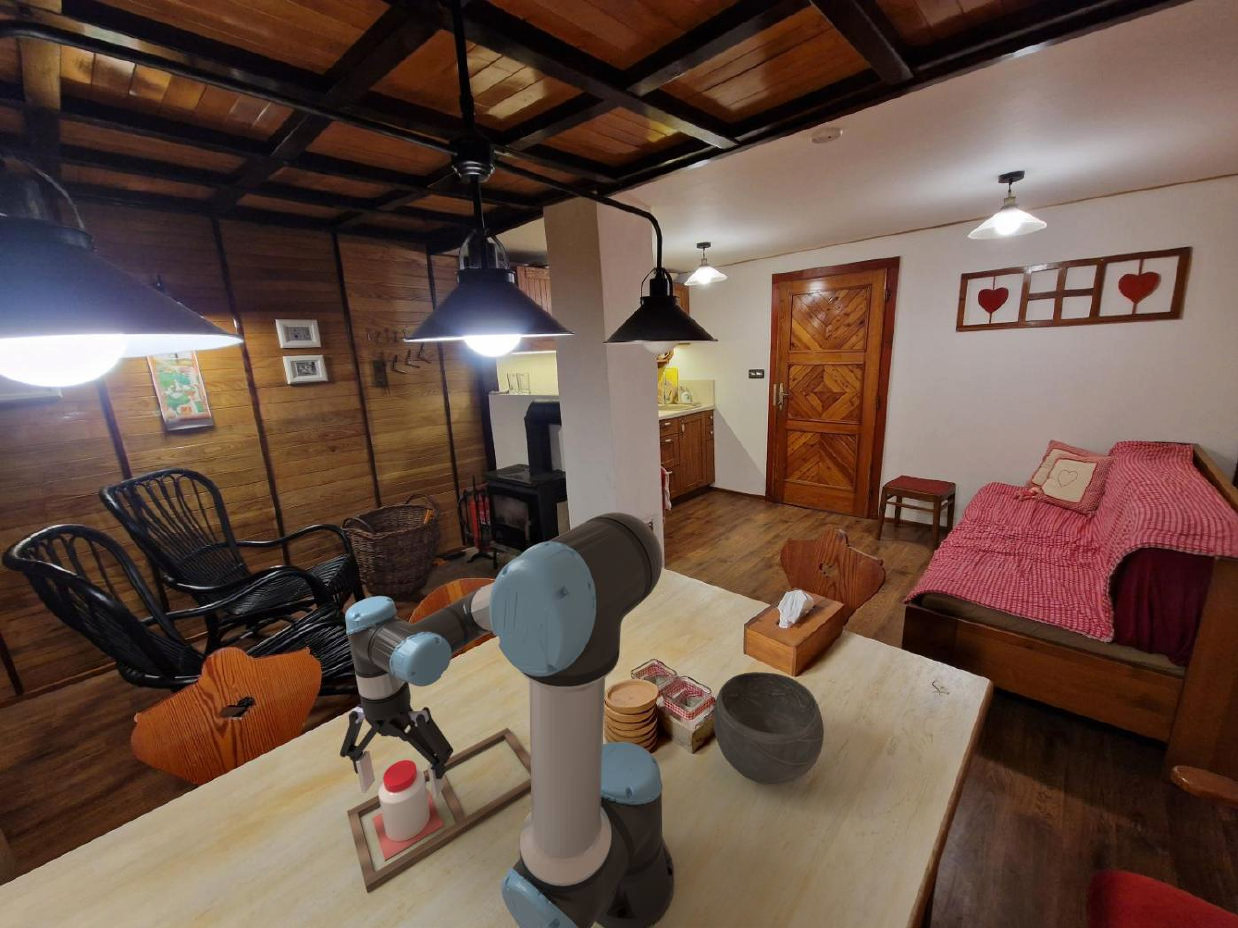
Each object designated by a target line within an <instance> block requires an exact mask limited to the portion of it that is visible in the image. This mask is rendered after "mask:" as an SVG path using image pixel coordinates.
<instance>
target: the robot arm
mask: <svg viewBox="0 0 1238 928" xmlns="http://www.w3.org/2000/svg"><path fill="white" fill-rule="evenodd" d="M662 569H663V553H662V549H661V544H660V542H659V539H658V537H657V535H656V534H655V533H654V531H653V529H651V527H650V526H649V525H648V524H647V523H645V522H644V521H643V520H642V519H640V518H638V517H636V516H634V515H632V514H628V513H623V512H607V513H604V514H603V513H602V514H600V515H597V516H595V517H592V518H591V519H590V518H589V519H588V520H586V521H585V522H582V523H580V524H579V525H577V526H575V527H573V528H571V529H569V530H567V531H566V532H563V533H562V534H560V535H558V536H556V537H553V538H552V539H549V540H548V541H542V542H539V543H537V544H534V545H532V546H531V547H529V548H527V549H526V550H525V551H523V552H522V553H521V554H520V555H518V556H517V557H515V558H513V559H512V560H510V561H509V562H508V563H507V564H506V565H505V566H504V567H502V568H501V570H500V571H499V573H498V575H497V577H496V578H495V580H494V581H493V582H491V583H489V584H486V585H484V586H482V587H481V586H480V587H479V588H476V589H475V590H473V591H472V592H469V594H467V595H465V596H463V597H461V598H459V599H457V600H456V601H454V602H452V603H450V604H448V605H446V606H444V607H442V608H440V609H439V610H436V611H434V612H433V613H431V614H428V615H427V616H426V617H423V618H421V619H420V620H418V621H416V622H413V623H411V622H408V621H406V620H403V619H401V618H399V617H398V610H397V608H396V605H395V602H394V600H393V599H392V598H391V597H389V596H383V595H377V596H372V597H367V598H364V599H362V600H359V601H358V602H355V603H354V604H352V605H351V606H350V607H349V608H348V609H347V610H346V612H345V616H344V618H345V625H346V627H345V628H346V631H345V632H346V635H347V639H348V644H349V648H350V652H351V653H350V654H351V656H352V657H351V658H352V660H353V661H352V662H353V667H354V671H355V672H354V673H355V678H356V679H355V680H356V684H357V689H358V694H359V696H360V703H359V704H357V706H355V708H354V709H353V710H352V711H350V713H349V714H348V722H349V723H348V724H349V725H348V727H347V731H346V734H345V736H344V739H343V743H342V746H341V749H340V752H339V756H340V757H341V758H346V757H348V758H349V760H350V761H352V765H353V769H354V772H355V773H356V775H358V779H359V784H360V789H361V793H362V794H363V793H364V794H366V793H367V792H368V791H369V790H370V788H371V787H372V785H373V784H374V783H375V782H376V778H375V773H374V769H373V768H374V767H373V763H372V757H371V754H370V752H371V751H370V750H368V749H367V750H366V748H367V747H368V746H369V744H370V742H371V741H372V740H373V738H374V737H375V736H376V735H377V734H379V735H380V736H381V737H393V738H399V739H400V740H402V741H403V742H407V743H409V744H410V745H411V747H413V749H415V750H416V751H417V752H418V753H419V754H420V755H421V757H424V759H425V760H427V762H429V764H428V765H427V769H428V772H429V778H430V780H429V783H430V790H431V795H432V798H433V799H437V798H438V797H439V795H440V794H441V793H442V792H441V790H442V788H443V786H444V781H443V775H445V773H446V771H447V770H446V769H445V764H446V763H447V761H448V760H449V758H450V757H452V756H453V755H452V754H453V753H454V748H453V747H452V745H451V743H450V742H449V740H447V738H446V736H445V735H444V733H443V731H441V729H440V728H439V727H438V725H437V723H436V722H435V720H434V719H433V718H432V713H431V711H430V708H429V707H427V706H424V707H423V708H422V709H421V710H415V711H414V709H413V708H412V706H411V697H412V695H411V690H410V685H413V686H415V687H422V688H423V687H427V686H430V685H433V684H434V683H436V682H437V681H438V680H440V679H441V678H442V676H443V673H444V672H445V671H447V670H448V668H449V666H450V663H451V660H452V656H453V655H455V654H456V653H458V652H459V651H460V650H462V649H463V648H465V647H467V646H468V645H469V644H471V643H473V642H475V641H477V640H478V639H480V638H481V637H483V636H484V637H485V635H489V634H491V633H493V636H495V637H498V638H499V642H498V644H497V646H498V647H499V649H500V651H501V652H502V655H503V656H504V657H505V658H506V660H507V661H508V662H509V663H510V664H511V665H512V666H513V667H515V668H516V669H517V670H518V671H519V673H521V674H522V676H523V677H524V678H526V679H527V680H528V681H529V682H528V684H529V686H528V687H529V689H528V690H529V692H528V693H529V740H530V741H529V742H530V743H529V745H530V746H529V747H530V752H529V753H530V758H531V775H530V778H531V791H530V794H531V795H530V796H531V798H530V799H531V801H530V802H531V803H530V804H531V806H530V807H531V810H530V811H529V813H528V814H527V816H526V818H525V820H524V822H523V824H522V826H521V831H520V835H519V859H518V860H517V862H515V864H514V865H513V866H512V867H509V869H507V873H506V874H505V876H504V878H503V880H502V882H501V886H500V889H501V890H500V892H501V895H502V899H503V902H504V904H505V906H506V908H507V910H508V911H509V913H510V915H511V917H512V918H513V920H514V921H515V923H516V924H517V926H518V927H519V928H593V925H594V924H595V922H596V923H597V924H599V925H600V926H601V927H603V928H647V927H649V928H651V927H652V925H653V926H654V925H655V924H656V923H658V921H660V920H661V919H662V917H663V916H664V915H665V913H666V912H667V910H668V909H669V907H670V904H672V903H671V902H672V900H673V896H674V892H675V869H674V863H673V858H672V856H671V853H670V850H669V847H668V846H667V844H666V842H665V840H664V838H663V811H662V810H663V805H662V803H663V802H662V800H663V799H662V795H663V794H662V793H663V782H662V778H661V769H660V766H659V764H658V762H657V760H656V758H655V757H654V755H653V754H652V753H650V751H648V750H647V748H644V747H643V746H640V745H638V744H636V743H632V742H629V741H616V742H615V741H611V742H606V743H604V726H605V725H604V723H605V692H606V690H605V689H606V687H605V686H606V677H607V676H609V675H610V674H611V673H612V672H613V671H614V670H615V668H616V666H617V665H618V661H619V659H620V653H621V651H620V648H621V627H622V622H623V620H624V618H625V617H627V615H628V614H630V613H631V612H632V611H633V610H634V609H636V607H637V606H638V605H640V604H641V603H642V602H643V601H644V600H646V599H647V598H648V597H649V596H650V595H651V594H652V592H653V591H654V589H655V588H656V586H657V584H658V582H659V580H660V577H661V574H662ZM364 720H365V721H366V723H368V725H370V727H371V728H370V729H369V730H368V731H367V732H366V734H365V735H364V737H363V738H362V740H361V741H360V742H359V743H358V745H356V743H357V740H358V738H359V734H360V731H361V728H362V725H363V724H364V723H363V722H364ZM408 727H409V729H408ZM406 729H408V731H407V732H406ZM650 926H651V927H650Z"/></svg>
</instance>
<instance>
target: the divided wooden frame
mask: <svg viewBox="0 0 1238 928" xmlns="http://www.w3.org/2000/svg"><path fill="white" fill-rule="evenodd" d="M504 740H505V742H506V743H507V744H508V746H509V747H510V749H511V750H512V751H513V753H514V754H515V756H516V757H517V758H518V760H519V762H520V763H521V765H523V767H524V768H525V770H526V771H527V772H528V774H529V776H531V756H529V754H528V753H527V751H526V750H525V749H524V748H523V746H522V744H521V743H520V742H519V741H518V739H517V738H516V737H515V736H514V734H513V733H512V732H511V730H510V728H509V727H506V728H504V729H502V730H500V731H498V732H496V733H494V734H493V735H491V736H488V737H486V738H485V739H483V740H481V741H478V742H477V743H475V744H473V745H471V746H470V747H467V748H466V749H463V750H462V751H460V752H458V753H456V754H454V755H451V756H450V758H449V760H448V761H447V763H446V764H445V769H446V771H449V770H450V769H452V768H455V766H457V765H460V764H461V763H463V762H465V761H467V760H469V759H470V758H473V757H474V756H476V755H478V754H479V753H482V752H484V751H485V750H487V749H489V748H491V747H493V746H495V745H496V744H499V743H500V742H502V741H504ZM422 771H423V770H422ZM423 773H424V776H425V783H427V782H428V781H430V778H429V772H428V768H427V769H425V770H424V771H423ZM443 781H444V786H443V788H442V790H441V792H440V793H441V794H442V796H443V798H444V800H445V803H446V804H447V806H448V810H449V811H450V813H451V815H452V817H453V819H454V821H455V823H454V824H452V825H451V826H449V827H447V828H446V829H444V830H443V831H440V832H439V833H437V834H436V835H434V836H433V837H431V838H429V839H428V840H426V841H425V842H423V843H421V844H419V845H418V846H416V847H415V848H413V849H411V850H409V851H407V852H406V853H405V854H403V855H401V856H400V857H398V858H396V859H394V860H393V861H391V862H390V863H388V864H386V865H385V866H383V867H381V868H379V869H378V870H376V871H374V867H373V864H372V861H371V857H370V853H369V849H368V846H367V842H366V839H365V835H364V832H363V828H362V824H361V820H360V817H363V816H364V815H366V814H368V813H369V812H372V811H374V810H376V809H377V808H379V807H380V801H379V795H378V794H377V795H376V796H374V797H372V798H370V799H367V800H366V801H364V802H362V803H360V804H359V805H357V806H355V807H352V808H350V809H349V810H347V817H348V820H349V825H350V829H351V834H352V838H353V841H354V845H355V849H356V850H355V851H356V852H357V853H356V854H357V857H358V862H359V866H360V868H361V874H362V877H363V881H364V886H365V890H366V892H367V893H368V892H370V891H372V890H373V889H375V888H377V887H378V886H380V885H381V884H383V883H384V882H386V881H388V880H390V879H391V878H392V877H394V876H396V875H398V874H399V873H401V872H402V871H404V870H406V869H407V868H408V867H411V866H412V865H413V864H415V863H417V862H419V861H420V860H421V859H423V858H425V857H427V856H428V855H430V854H431V853H433V852H434V851H436V850H437V849H440V848H441V847H442V846H444V845H446V844H447V843H449V842H450V841H452V840H454V839H456V838H457V837H458V836H460V835H463V834H464V833H465V832H467V831H468V830H470V829H471V828H473V827H474V826H477V825H478V824H479V823H481V822H483V821H484V820H486V819H488V818H489V817H490V816H492V815H494V814H496V813H497V812H498V811H500V810H502V809H503V808H505V807H507V806H508V805H510V804H512V803H513V802H515V801H516V800H518V799H519V798H521V797H522V796H524V795H526V794H528V793H529V792H531V777H530V778H529V779H527V780H525V781H523V782H522V783H520V784H518V785H517V786H516V787H514V788H511V790H509V791H507V792H505V793H504V794H502V795H500V796H498V797H497V798H496V799H493V800H492V801H490V802H489V803H487V804H485V805H484V806H482V807H481V808H479V809H477V810H475V811H474V812H472V813H470V814H468V815H467V816H466V815H465V812H464V811H463V809H462V807H461V805H460V803H459V801H458V799H457V797H456V796H455V794H454V791H453V789H452V787H451V786H450V783H449V782H448V780H447V777H446V776H445V774H444V775H443ZM426 789H427V796H428V802H429V809H430V818H429V821H428V823H427V825H426V826H425V828H424V829H423V830H422V831H421V832H420V833H419V834H417V835H416V836H414V837H413V838H411V839H408V840H405V841H399V842H398V841H392V840H390V839H389V838H388V837H387V836H386V833H385V829H384V823H383V818H382V812H381V813H379V814H377V815H375V816H373V817H372V818H371V819H372V822H373V825H374V828H375V833H376V835H377V839H378V842H379V845H380V849H381V852H382V855H383V858H384V861H385V862H386V861H388V860H390V859H392V858H393V857H395V856H396V855H398V854H399V853H402V852H403V851H405V850H406V849H408V848H410V847H411V846H413V845H415V844H416V843H418V842H420V841H421V840H423V839H425V838H427V837H428V836H429V835H431V834H433V833H435V832H436V831H438V830H440V829H441V828H444V823H443V821H442V818H441V817H440V814H439V811H438V810H437V807H436V805H435V803H434V801H433V799H432V798H433V797H432V796H431V794H430V791H429V790H428V788H426Z"/></svg>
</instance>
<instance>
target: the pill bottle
mask: <svg viewBox="0 0 1238 928" xmlns="http://www.w3.org/2000/svg"><path fill="white" fill-rule="evenodd" d="M382 777H383V778H382V779H383V781H382V782H381V783H380V786H379V788H378V792H377V793H378V794H377V795H379V801H380V806H379V807H380V811H381V813H382V818H383V823H384V829H385V833H386V836H387V837H388V838H389V839H390V840H392V841H398V842H399V841H405V840H408V839H411V838H413V837H414V836H416V835H417V834H419V833H420V832H421V831H422V830H423V829H424V828H425V826H426V825H427V823H428V821H429V818H430V809H429V802H428V796H427V789H428V788H427V784H426V783H427V782H425V776H424V773H423V770H422V769H421V768H419V767H417V765H416V763H415V762H414V761H413V760H411V759H410V760H409V759H404V760H399V761H397V762H395V763H393V764H392V765H390V766H389V767H388V768H387V769H386V770H385V771H384V774H383V776H382Z"/></svg>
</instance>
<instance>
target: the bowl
mask: <svg viewBox="0 0 1238 928" xmlns="http://www.w3.org/2000/svg"><path fill="white" fill-rule="evenodd" d="M820 710H821V709H820V708H819V704H818V702H817V700H816V699H815V697H814V694H813V693H812V692H811V691H810V690H809V689H808V688H807V687H805V686H804V685H803V683H800V682H799V681H797V680H796V679H794V678H791V677H790V676H787V675H783V674H778V673H773V672H758V671H753V672H744V673H740V674H737V675H734V676H732V677H731V678H729V679H728V680H727V681H725V683H724V684H723V685H722V686H721V687H720V690H719V692H718V694H717V695H716V698H715V701H714V707H713V719H712V720H713V721H712V722H713V730H714V735H715V738H716V742H717V744H718V747H719V749H720V751H721V753H722V755H723V757H724V758H725V760H726V761H727V762H728V763H729V765H731V766H732V767H733V769H734V770H736V771H737V772H738V773H739V774H741V775H742V776H743V777H744V778H747V779H748V780H751V781H753V782H756V783H759V784H764V785H773V786H774V785H782V784H787V783H790V782H793V781H795V780H797V779H801V777H803V776H804V775H806V774H807V773H808V772H809V771H810V770H811V769H812V768H813V767H814V765H815V764H816V762H817V761H818V758H819V756H820V754H821V753H822V748H823V743H824V739H825V738H824V734H825V731H824V723H823V717H822V713H821V711H820Z"/></svg>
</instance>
